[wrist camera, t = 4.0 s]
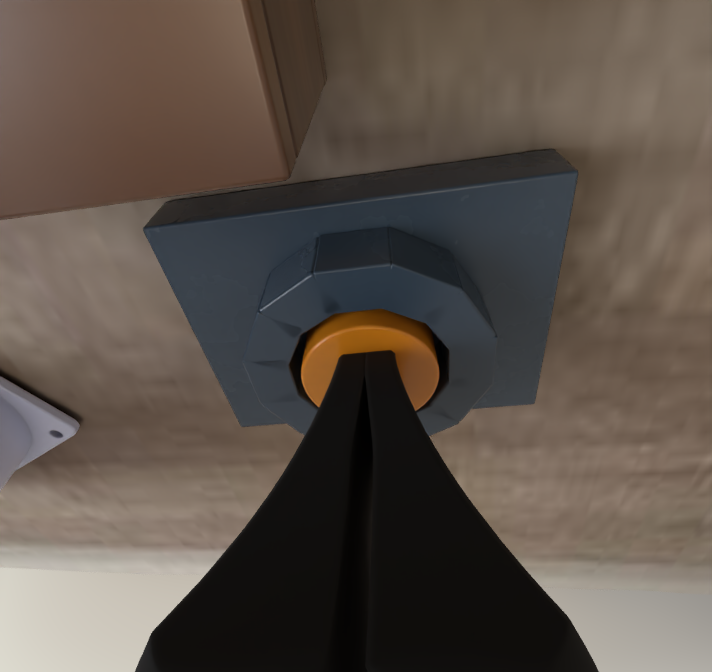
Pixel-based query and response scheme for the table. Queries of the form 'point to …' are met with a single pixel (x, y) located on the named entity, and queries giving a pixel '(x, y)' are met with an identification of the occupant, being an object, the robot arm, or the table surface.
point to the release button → (371, 350)
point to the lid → (135, 102)
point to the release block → (375, 276)
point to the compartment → (296, 60)
